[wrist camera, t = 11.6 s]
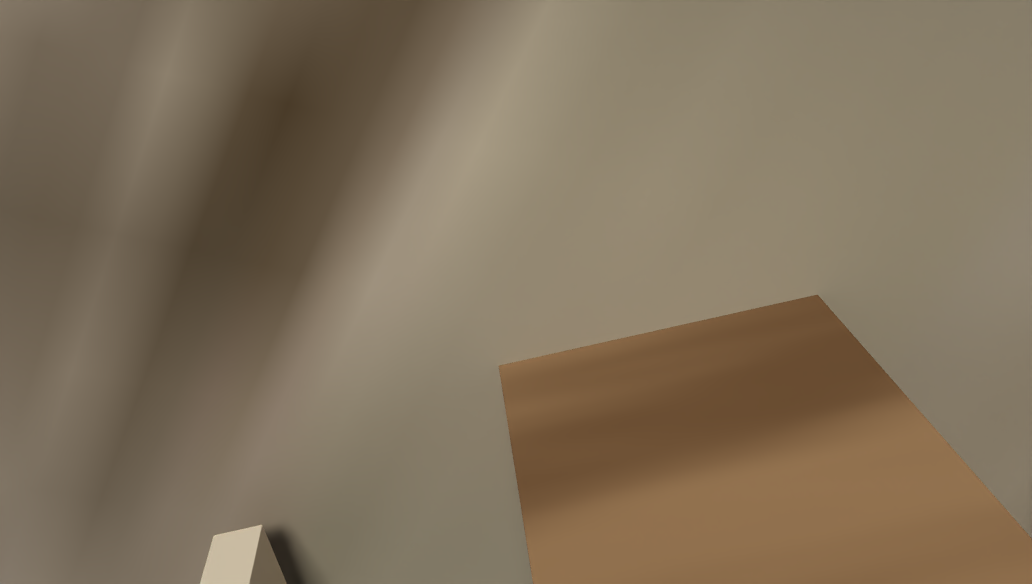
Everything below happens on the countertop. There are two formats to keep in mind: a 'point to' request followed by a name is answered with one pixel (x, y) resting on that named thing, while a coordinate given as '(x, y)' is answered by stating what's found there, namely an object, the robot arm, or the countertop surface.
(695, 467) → the block
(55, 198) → the countertop surface
